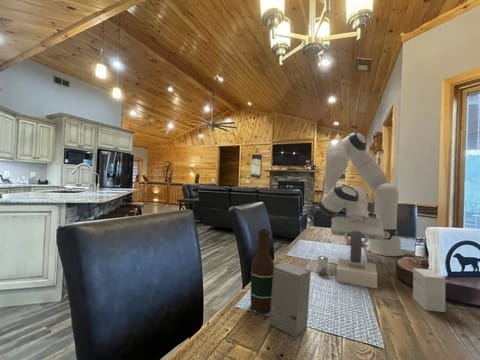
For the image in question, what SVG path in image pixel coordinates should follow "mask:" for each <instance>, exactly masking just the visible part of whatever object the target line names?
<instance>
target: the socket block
mask: <svg viewBox="0 0 480 360" xmlns="http://www.w3.org/2000/svg"><path fill="white" fill-rule="evenodd" d="M336 282H339V283H344V284H350V285H355V286H361V287H367V288H371V289H378V271H377V266H376V263H372V262H367V261H366V262H365V261H361V263H354V262H351V261H350V259H345V258H338V262H337V267H336Z"/></svg>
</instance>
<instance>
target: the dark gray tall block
mask: <svg viewBox="0 0 480 360" xmlns="http://www.w3.org/2000/svg"><path fill="white" fill-rule="evenodd" d="M350 239H351V245H350V256H349V260H350V261H351V262H354V263H361V262H362V246H361V243H362V241H363V240H362V239H363V238H362V232H359V231H351V237H350Z"/></svg>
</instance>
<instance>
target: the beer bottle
mask: <svg viewBox="0 0 480 360" xmlns="http://www.w3.org/2000/svg"><path fill="white" fill-rule="evenodd" d="M270 233H271V232H270V230H269V229H268V228H260V229H258V231H257V234H258V241H257V251H256V255H255V257H254V258H253V260H252V261H251V266H250V307H251V310H253V311H254V312H256V313H259V314H270V308H271V296H272V283H273V270H274V266H275V263H274V260H273V259H272V257H271V252H270Z"/></svg>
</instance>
